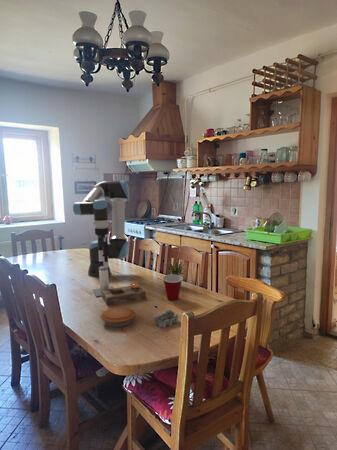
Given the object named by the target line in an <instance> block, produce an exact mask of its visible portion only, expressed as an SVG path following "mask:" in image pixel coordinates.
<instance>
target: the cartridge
mask: <svg viewBox="0 0 337 450" xmlns="http://www.w3.org/2000/svg"><path fill="white" fill-rule="evenodd" d="M98 277H99V286H100V287H99V288H100V292H102V290H107V289H109V287H110V281H109V280H110V279H109V274H108V267H106V268H104V266H102V267H99V276H98Z"/></svg>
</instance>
